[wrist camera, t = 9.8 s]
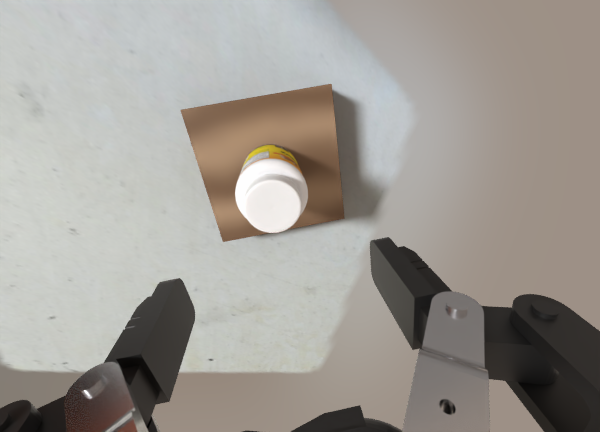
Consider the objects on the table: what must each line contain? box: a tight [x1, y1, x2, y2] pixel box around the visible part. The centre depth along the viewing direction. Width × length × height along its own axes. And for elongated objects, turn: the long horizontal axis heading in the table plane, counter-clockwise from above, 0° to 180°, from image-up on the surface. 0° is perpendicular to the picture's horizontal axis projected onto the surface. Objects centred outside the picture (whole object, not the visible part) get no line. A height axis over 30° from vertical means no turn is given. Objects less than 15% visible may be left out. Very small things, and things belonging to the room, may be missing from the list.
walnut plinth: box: [181, 84, 344, 242], centre depth 29 cm, size 14×14×4 cm
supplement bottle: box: [235, 144, 308, 233], centre depth 23 cm, size 6×6×10 cm
